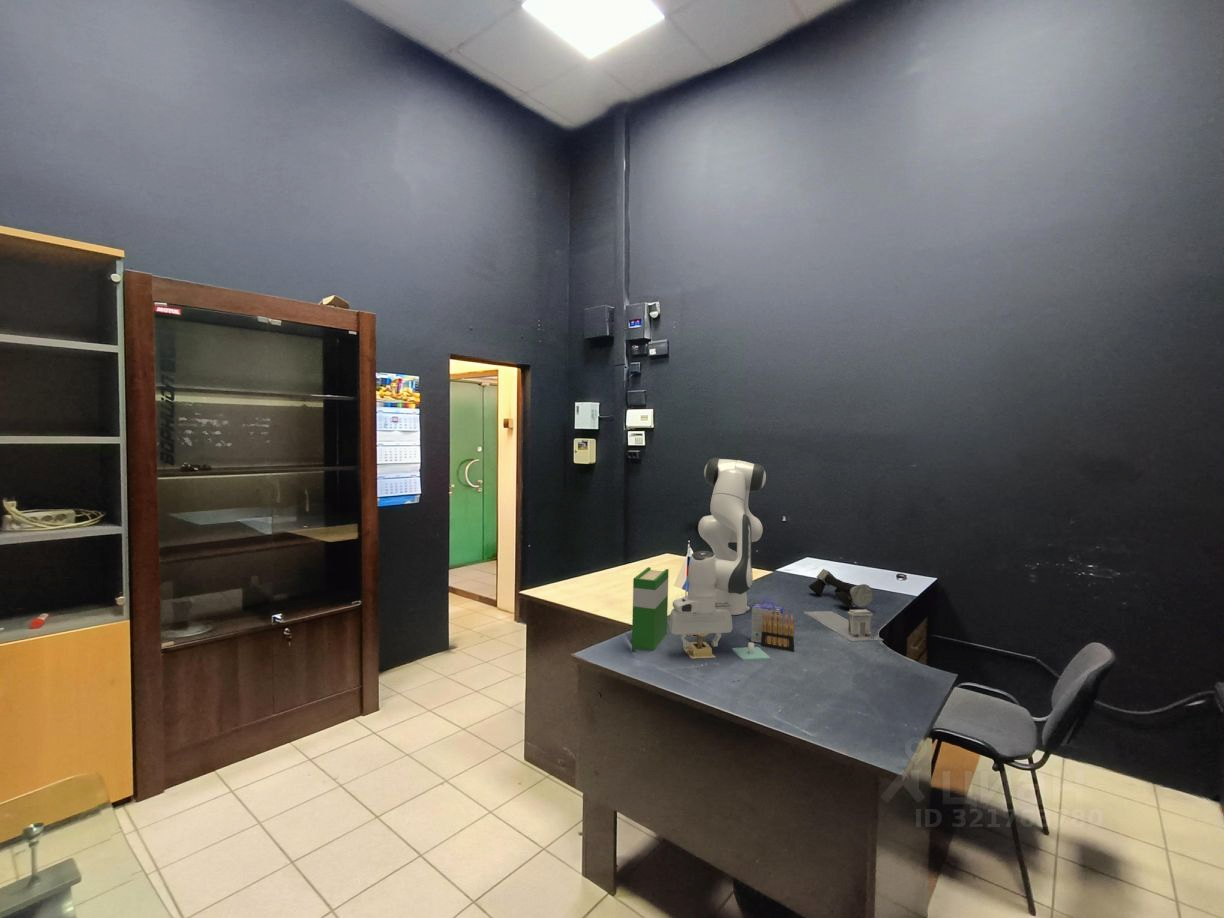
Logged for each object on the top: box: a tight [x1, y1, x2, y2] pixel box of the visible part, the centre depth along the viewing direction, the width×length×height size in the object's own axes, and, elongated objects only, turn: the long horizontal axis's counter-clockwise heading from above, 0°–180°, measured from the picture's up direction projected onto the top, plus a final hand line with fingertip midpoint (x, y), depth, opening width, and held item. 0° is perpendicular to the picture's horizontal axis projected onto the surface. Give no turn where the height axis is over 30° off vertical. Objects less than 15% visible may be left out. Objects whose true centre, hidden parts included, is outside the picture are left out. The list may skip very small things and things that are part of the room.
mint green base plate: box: [731, 641, 771, 662], centre depth 176 cm, size 9×9×5 cm
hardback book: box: [631, 566, 670, 653], centre depth 187 cm, size 18×7×24 cm, turn 161°
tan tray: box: [687, 641, 713, 657], centre depth 176 cm, size 6×6×2 cm
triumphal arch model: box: [803, 608, 884, 643], centre depth 211 cm, size 12×33×10 cm, turn 10°
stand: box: [683, 636, 716, 659], centre depth 176 cm, size 8×8×6 cm
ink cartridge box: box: [750, 598, 784, 644], centre depth 192 cm, size 10×6×14 cm, turn 64°
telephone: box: [808, 568, 874, 610], centre depth 242 cm, size 15×13×30 cm
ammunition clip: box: [760, 611, 795, 653], centre depth 186 cm, size 11×2×12 cm, turn 66°
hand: (700, 646), depth 176 cm, fingers open, 8 cm apart
